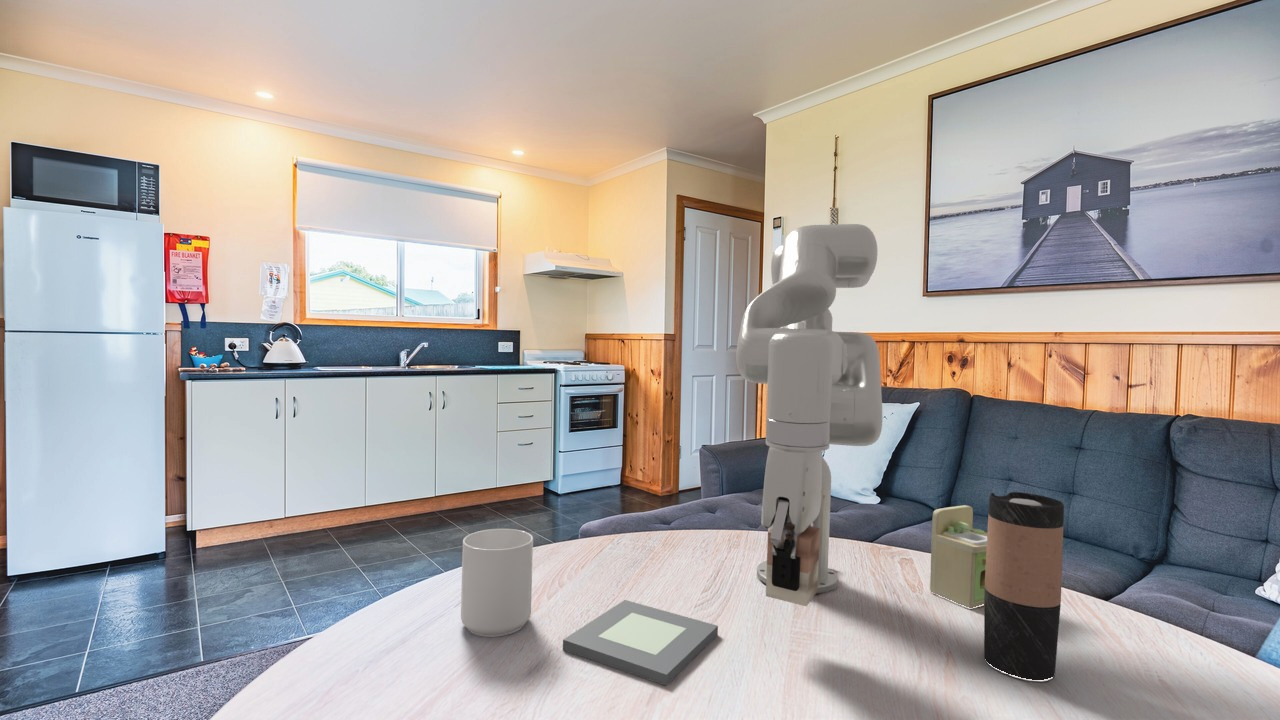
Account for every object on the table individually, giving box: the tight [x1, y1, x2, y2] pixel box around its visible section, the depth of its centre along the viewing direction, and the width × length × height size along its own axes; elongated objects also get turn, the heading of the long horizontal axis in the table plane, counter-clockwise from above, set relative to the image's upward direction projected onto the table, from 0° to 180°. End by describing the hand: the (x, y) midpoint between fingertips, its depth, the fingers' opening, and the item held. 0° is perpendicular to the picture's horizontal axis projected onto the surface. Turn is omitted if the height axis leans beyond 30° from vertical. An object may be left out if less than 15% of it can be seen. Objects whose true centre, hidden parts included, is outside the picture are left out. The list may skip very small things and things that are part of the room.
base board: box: [562, 599, 719, 686], centre depth 75 cm, size 14×14×1 cm
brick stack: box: [765, 525, 820, 607], centre depth 75 cm, size 5×5×8 cm
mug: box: [460, 528, 534, 638], centre depth 80 cm, size 12×9×11 cm
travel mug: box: [983, 491, 1065, 680], centre depth 72 cm, size 8×8×20 cm
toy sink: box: [929, 504, 987, 608], centre depth 92 cm, size 9×7×13 cm
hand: (792, 577), depth 75 cm, fingers closed on brick stack, 5 cm apart
